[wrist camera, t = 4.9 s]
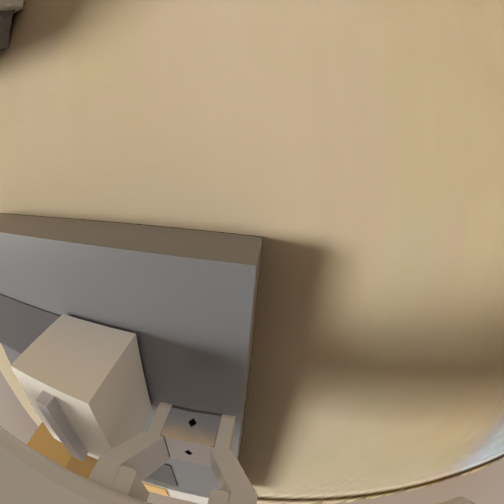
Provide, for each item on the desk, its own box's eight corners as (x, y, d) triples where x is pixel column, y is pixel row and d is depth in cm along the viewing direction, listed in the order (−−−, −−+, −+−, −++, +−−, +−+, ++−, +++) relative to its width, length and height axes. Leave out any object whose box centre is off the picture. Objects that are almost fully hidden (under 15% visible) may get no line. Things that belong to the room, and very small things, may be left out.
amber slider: (83, 435, 15) (59, 478, 11) (102, 463, 17) (84, 501, 13) (46, 416, 16) (20, 454, 11) (67, 447, 17) (47, 481, 13)
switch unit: (262, 236, 12) (255, 269, 9) (236, 482, 21) (231, 510, 18) (-1, 213, 13) (-37, 229, 10) (80, 437, 22) (67, 458, 19)
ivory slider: (135, 333, 11) (79, 416, 6) (152, 409, 12) (120, 480, 8) (62, 314, 11) (1, 374, 7) (88, 388, 13) (49, 446, 8)
